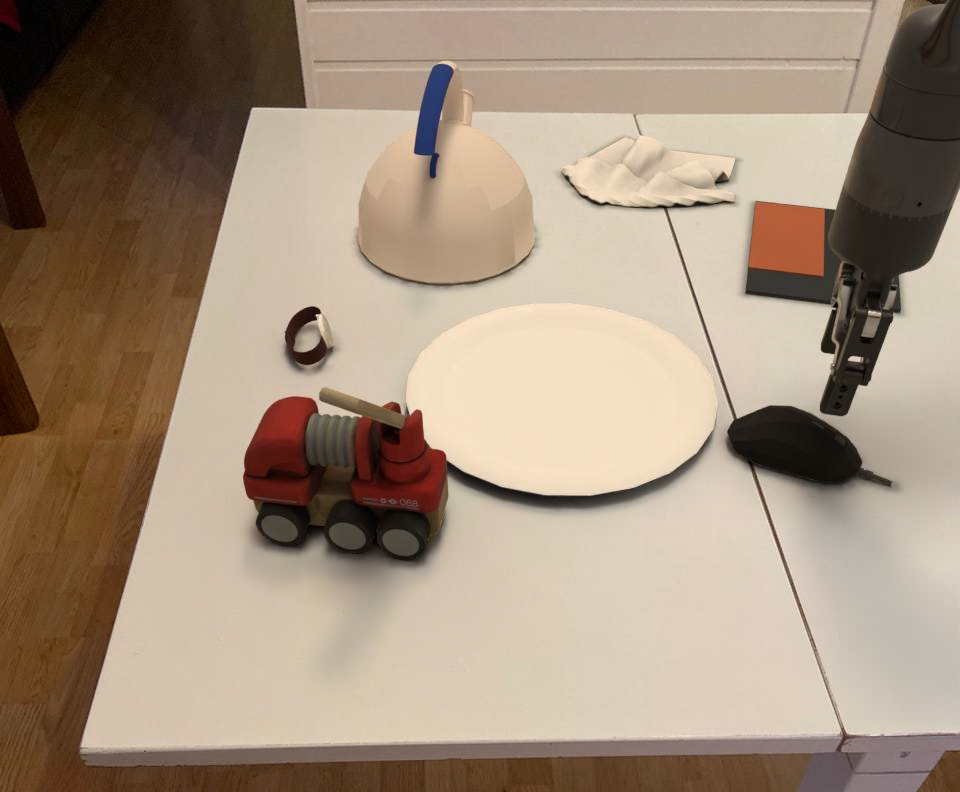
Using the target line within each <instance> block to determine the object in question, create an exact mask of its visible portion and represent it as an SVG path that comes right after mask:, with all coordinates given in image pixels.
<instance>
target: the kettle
mask: <svg viewBox="0 0 960 792" xmlns="http://www.w3.org/2000/svg"><path fill="white" fill-rule="evenodd" d="M463 82H464V81H463V78H462V73H461V70H460V69H459V67H458V65H457V64H456V63H455V62H453V61H450V60H442V61H439V62H438V63H436V64H435V65H433V67H432V68H431V70H430V73H429V75H428V78H427V81H426V84H425V88H424V91H423V95H422V100H421V104H420V109H419V114H418V119H417V125H416V127H415V128H413V129H410V130H408V131H406V132H405V133H403V134H402V135H400V136H399V137H398V138H396V139H395V140H394V141H392V142H391V143H390V144H389V145H387V146H386V147H385V149H384V150H383V151H382V152H381V153H380V154H379V156H378V158H377V159H376V160H375V162H374V163H373V164H372V165H371V167H370V168H369V169H368V171H367V174H366V177H365V180H364V183H363V185H362V189H361V192H360V196H359V200H358V235H357V240H358V244H359V248H360V251H361V252H362V254H364V256H365V257H366V258H367V259H368V261H369V262H370V263H372V264H373V265H374V266H376V267H378V268H379V269H381V270H382V271H384V272H386V273H388V274H390V275H393V276H396V277H398V278H401V279H404V280H408V281H413V282H418V283H423V284H434V285H435V284H437V285H456V284H464V283H465V284H467V283H472V282H478V281H482V280H485V279H489V278H493V277H496V276H498V275H501V274H502V273H504V272H506V271H509V270H511V269H512V268H514V267H515V266H516V265H518V264H519V263H520V262H521V261H522V260H524V259H525V258H526V257H527V256H528V255H529V253H530V252H531V250H532V248H533V247H534V245H535V241H536V240H535V239H536V238H535V237H536V231H535V226H534V225H535V224H534V206H533V195H532V192H531V189H530V187H529V185H528V184H529V183H528V182H527V179H526V177H525V174H524V171H522V169H521V167H520V165H519V164H518V163H517V161H516V160H515V158H513V156H512V154H510V152H509V151H508V150H507V148H505V147H504V146H503V145H502V144H501V143H499V142H498V141H497V140H495V139H494V138H492V137H491V136H489V135H488V134H487V133H485V132H484V131H481V130H480V129H478V128H475V127H473V126H472V124H473V123H472V120H473V110H474V104H476V98H475V95H474V94H473V93H472V92H471V91H470V90H467V89H465V88H464V83H463Z"/></svg>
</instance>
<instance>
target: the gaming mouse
mask: <svg viewBox="0 0 960 792" xmlns="http://www.w3.org/2000/svg"><path fill="white" fill-rule="evenodd" d="M726 432H727V437H728V440H729V442H730V444H731V447H732V449H733V450H734V451H735V453H736V454H737V455H739V456H741V457H742V458H744V459H746V460H747V461H749V462H751V463H753V464H755V465H757V466H761V467H764V468H768V469H771V470H775V471H778V472H782V473H785V474H790V475H793V476H796V477H799V478H803V479H807V480H811V481H815V482H819V483H822V484H835V483H836V484H844V483H845V482H847V481H848V480H850V479H851V478H853V477H854V476H856V475H859V476H862V475H863V476H862V477H864V478H866V479H869V480H871V479H872V480H875V481H878V482H880V483H883V484H885V485H888V486H892V484H893V480H891V479H887V478H885V477H883V476H880V475H877V474H875V473H874V471H872V470H869V469H865V468H863V467H862V465H863V459H862V457H861V455H860V453H859V451H858V449H857V447H856V446H855V444H854V443H853V442H852V441H851V439H849V437H848V436H847V435H845V434H843V433H842V432H841V431H839V430H838V429H837V428H835V427H834V426H833V425H831V424H830V423H828V422H827V421H825V420H823V419H821V418H820V417H818V416H816V415H814V414H813V413H811V412H808V411H806V410H803V409H801V408H798V407H796V406H794V405H780V404H779V405H776V404H774V405H773V404H769V405H767V406H764V407H761V408H759V409H757V410H754V411H752V412H750V413H747V414H745V415H742V416H740V417H737V418H736V419H733V420H732V422H731V424H730V425H729V427H728V429H727V431H726Z"/></svg>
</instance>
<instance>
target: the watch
mask: <svg viewBox="0 0 960 792" xmlns="http://www.w3.org/2000/svg"><path fill="white" fill-rule="evenodd" d="M315 321H316V322H317V326H318V327H317V328H318V331H319V333H320V339H319V342H318V343H317V344H316V345H315V347H313V348H312V349H309V350H306V351H296V350H295V347H294V346H295V343H296V336H297V335H298V333H299V331H300V330H301V329H302V328H303V327H305V326H306V325H307V324H310V323H312V322H315ZM284 341H285V343H286V345H287V347H288V349H289V351H290V354H291V355H292V357H293V359H294V361H295V362H296V363H297V364H300V365H301V366H312V365H315V364H317V363H320V362H321V360H323V359H324V358H325V356H326V354H327V352H328V350H329V349H331V348H332V347H334V345H335V343H334V337H333V333H332V329H331V326H330V324H329V322H328V320H327V318H326V316H325V314H323V313H322V311H321V308H319V307H318V306H315V305H311V306H306V307H304V308H302V309H301V310H299V311H298V312H296V313H295V314H294V315H292V317H291V318H290V320H289V321H288V323H287V326H286V329H285V331H284Z"/></svg>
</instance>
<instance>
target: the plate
mask: <svg viewBox="0 0 960 792" xmlns="http://www.w3.org/2000/svg"><path fill="white" fill-rule="evenodd" d="M719 404H720V403H719V399H718V395H717V391H716V386H715V382H714V378H713V376H712V375H711V373H710V372H709V370H708V369H707V368H706V366H705V365H704V363H703V362H702V360H701V359H700V357H699V356H698V354H697V353H696V352H694V351H693V350H692V349H691V348H689V347H688V346H687V345H686V344H685V343H684V342H683V341H681V340H680V339H679V338H678V337H676V336H675V335H674V334H672V333H670V332H668V331H666V330H664V329H662V328H661V327H659V326H657V325H655V324H653V323H651V322H650V321H647V320H645V319H642V318H639V317H636V316H633V315H630V314H627V313H624V312H621V311H618V310H614V309H611V308H606V307H601V306H594V305H587V304H580V303H575V302H574V303H573V302H572V303H571V302H536V303H529V304H528V303H527V304H521V305H514V306H508V307H500V308H498V309H494V310H491V311H489V312H485V313H482V314H479V315H476V316H473V317H469V318H467V319H465V320H463V321H461V322H460V323H458V324H456V325H454V326H453V327H451V328H449V329H447V330H446V331H444V332H442V333H440V334H439V335H438V336H437V337H435V339H434V340H432V342H431V343H429V344H428V346H426V347H425V348H424V349H423V350H422V351H421V352H420V353H419V355H418V356H417V358H416V361H415V362H414V364H413V366H412V367H411V370H410V372H409V373H408V376H407V382H406V392H405V405H406V408H407V410H408V414H409V416H410V415H411V414H412V413H413V412H414V411H415V410H416V409H418V410H421V412H422V416H423V430H424V439H425V440H426V442H427V443H428V446H429V448H430V449H438V450H442V451H444V452H445V454H446V459H447V464H450V465H451V466H452V467H454V468H456V469H457V470H458V471H459V472H461V473H463V474H465V475H468V476H469V477H473V478H475V479H477V480H480V481H482V482H485V483H487V484H489V485H492V486H495V487H497V488H500V489H504V490H507V491H514V492H519V493H524V494H530V495H533V496H540V497H548V498H549V497H550V498H551V497H553V498H592V497H598V496H605V495H608V494H615V493H620V492H626V491H632V490H635V489H637V488H640V487H642V486H645V485H647V484H649V483H652V482H656V481H657V480H660V479H663V478H665V477H668V476H669V475H671V474H672V473H673V472H675V471H677V470H678V469H679V468H680V467H682V466H683V465H684V464H686V463H687V462H688V461H690V460H691V459H693V458H694V457H696V455H698V453H699V451H701V448H702V447H703V446H704V444H706V442H707V440H708V439H709V437H710V436H711V434H712V433H713V431H714V428H715V424H716V419H717V418H716V417H717V412H718V410H719V409H718V408H719Z"/></svg>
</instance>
